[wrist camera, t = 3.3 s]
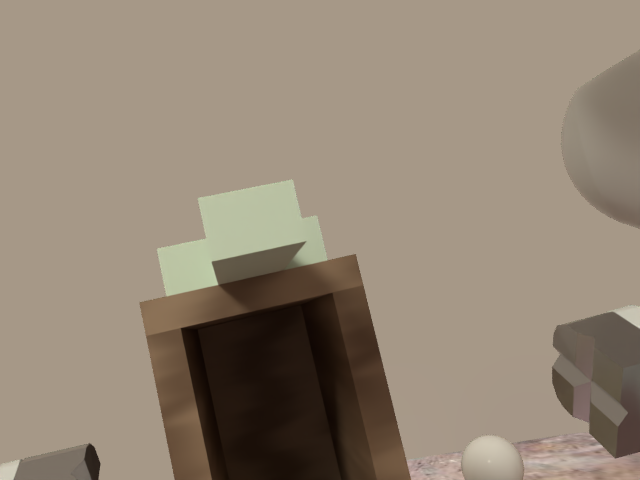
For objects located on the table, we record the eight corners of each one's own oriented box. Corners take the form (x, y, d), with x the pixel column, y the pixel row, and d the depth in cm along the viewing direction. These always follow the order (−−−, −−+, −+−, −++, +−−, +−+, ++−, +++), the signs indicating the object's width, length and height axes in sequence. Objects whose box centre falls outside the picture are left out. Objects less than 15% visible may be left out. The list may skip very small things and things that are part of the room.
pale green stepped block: (308, 277, 38) (299, 239, 38) (382, 224, 19) (364, 149, 19) (181, 306, 36) (173, 266, 36) (127, 279, 18) (111, 198, 18)
